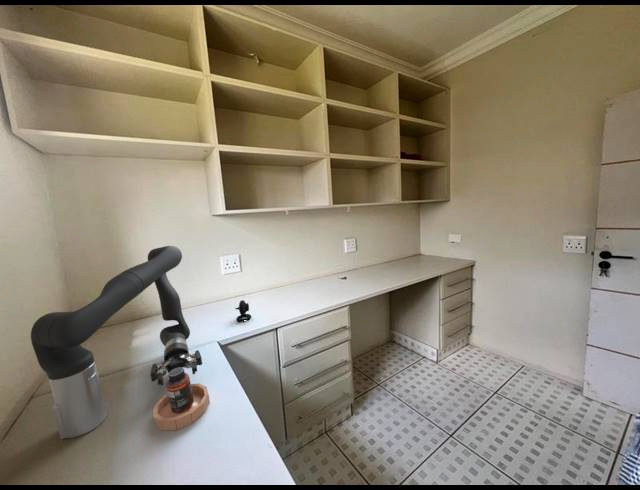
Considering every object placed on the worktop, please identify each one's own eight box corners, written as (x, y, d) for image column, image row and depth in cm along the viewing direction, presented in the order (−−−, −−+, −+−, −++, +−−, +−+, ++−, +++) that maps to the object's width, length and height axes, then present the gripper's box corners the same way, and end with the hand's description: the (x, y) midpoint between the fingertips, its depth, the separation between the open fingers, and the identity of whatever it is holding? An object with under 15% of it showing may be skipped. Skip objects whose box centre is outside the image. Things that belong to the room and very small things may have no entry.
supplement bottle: (188, 395, 79) (182, 362, 78) (197, 404, 76) (191, 369, 74) (167, 408, 75) (161, 373, 73) (176, 417, 71) (169, 381, 69)
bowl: (154, 439, 66) (152, 429, 65) (156, 405, 78) (154, 396, 77) (212, 414, 73) (210, 404, 72) (205, 385, 85) (204, 377, 84)
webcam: (250, 321, 131) (248, 302, 129) (235, 323, 130) (232, 304, 128) (252, 314, 139) (249, 297, 137) (237, 316, 137) (235, 299, 136)
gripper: (150, 349, 87) (147, 375, 73) (196, 336, 94) (201, 357, 80) (154, 369, 88) (152, 398, 74) (199, 354, 95) (205, 378, 81)
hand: (178, 376), depth 77 cm, fingers open, 8 cm apart
